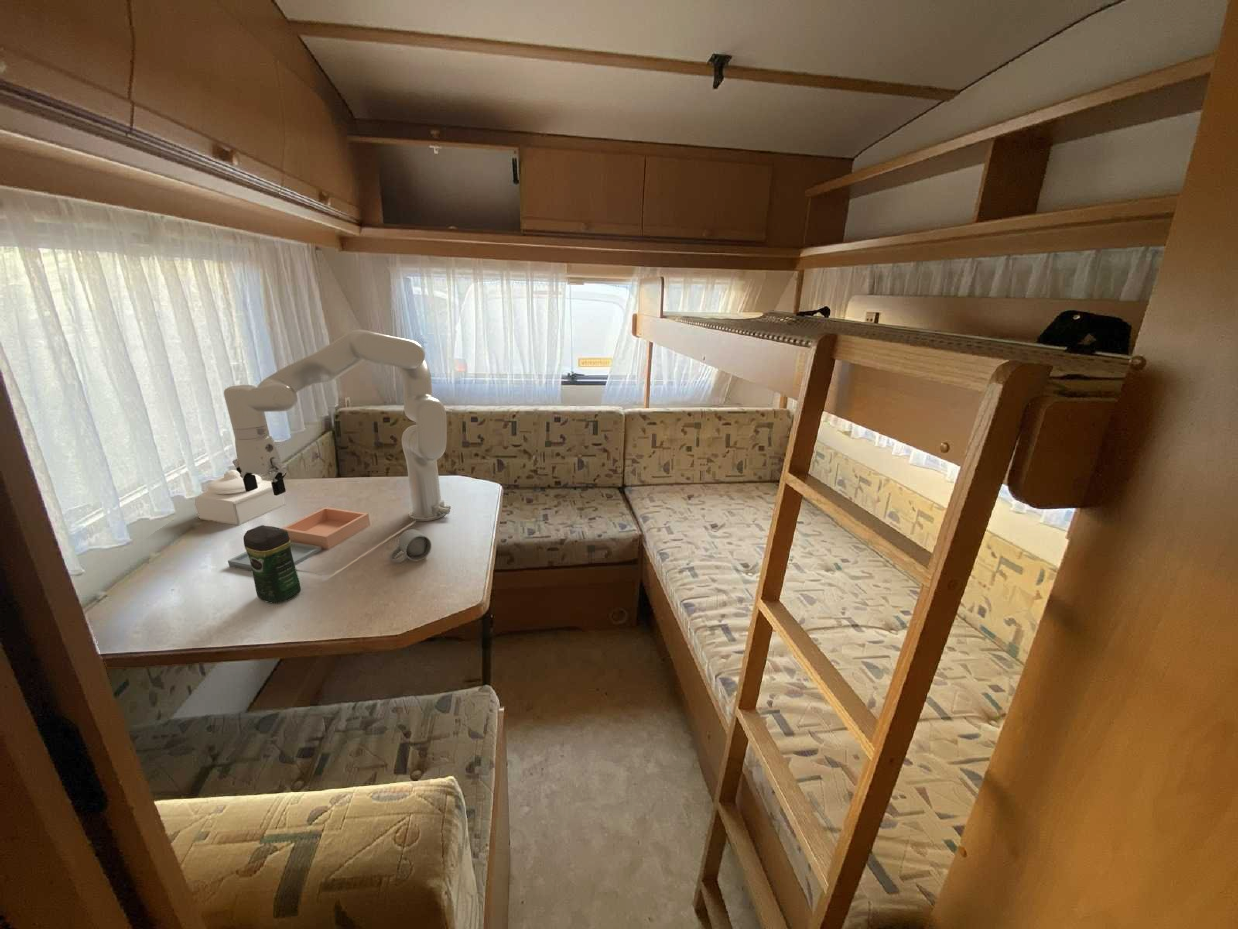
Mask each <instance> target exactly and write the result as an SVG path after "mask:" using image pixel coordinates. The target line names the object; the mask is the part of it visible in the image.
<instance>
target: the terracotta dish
mask: <svg viewBox="0 0 1238 929" xmlns="http://www.w3.org/2000/svg"><path fill="white" fill-rule="evenodd" d="M370 525H371V523H370V517H369V513H366V512H359V511H354V510H346V509H341V508H333V507H327V506H324V507H323V508H321V509H318V510H317V511H315V512H312V513H310V514H308V515H305V516H304V517H302V518H300V519H298V520H296V521H294V522H292V523H289V524H287V525H285V526H283V527H281V529H284V530H287V532H288V535H289V538H290V541H291V542H297V543H303V544H309V545H314V546H320V547H321V548H322V549H327V550H330V549H331V548H333V547H335V546H337V545H338V544H340V543H342V542H344V541H345V540H346V539H349V538H350V537H352V536H353V535H355V534H357V533H359V532H360V531H362V530H364V529H365V528H368V526H370Z"/></svg>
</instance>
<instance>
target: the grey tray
mask: <svg viewBox="0 0 1238 929" xmlns="http://www.w3.org/2000/svg"><path fill="white" fill-rule="evenodd" d="M290 542H291V541H290ZM290 547H291V553H292V557H293V561H294V565H295V566H297V565H298V564H300V563H303V561H306V560H307V559H309V558H311V557H312V556H314V555H316V554H317V553H319V552H321V551H323V550H322V549H323V548H321V547H320V546H314V545H309V544H303V543H297V542H291V544H290ZM227 563H228V567H229V568H232V569H238V570H243V571H247V572H252V568H251V563H250V559H249V556H248V554H247V551H246V550H245V552H242V553H241V554H238V555H237V556H234V557H233V558H230V559H228V560H227Z"/></svg>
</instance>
